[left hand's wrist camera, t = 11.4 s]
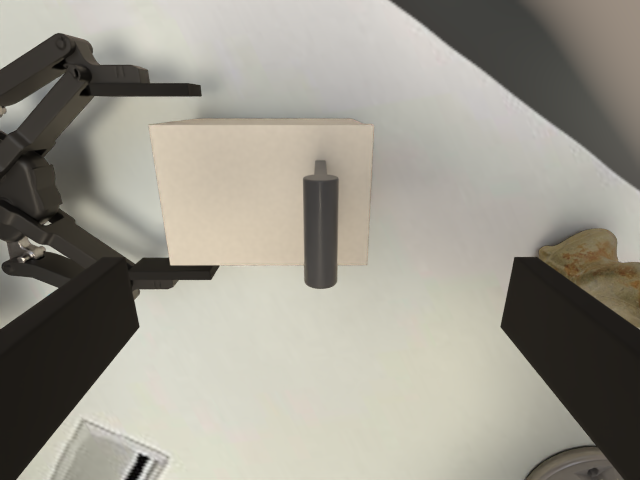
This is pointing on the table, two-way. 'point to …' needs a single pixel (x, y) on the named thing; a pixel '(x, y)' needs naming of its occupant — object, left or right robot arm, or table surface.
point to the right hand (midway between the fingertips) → (206, 186)
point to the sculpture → (598, 270)
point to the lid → (266, 194)
